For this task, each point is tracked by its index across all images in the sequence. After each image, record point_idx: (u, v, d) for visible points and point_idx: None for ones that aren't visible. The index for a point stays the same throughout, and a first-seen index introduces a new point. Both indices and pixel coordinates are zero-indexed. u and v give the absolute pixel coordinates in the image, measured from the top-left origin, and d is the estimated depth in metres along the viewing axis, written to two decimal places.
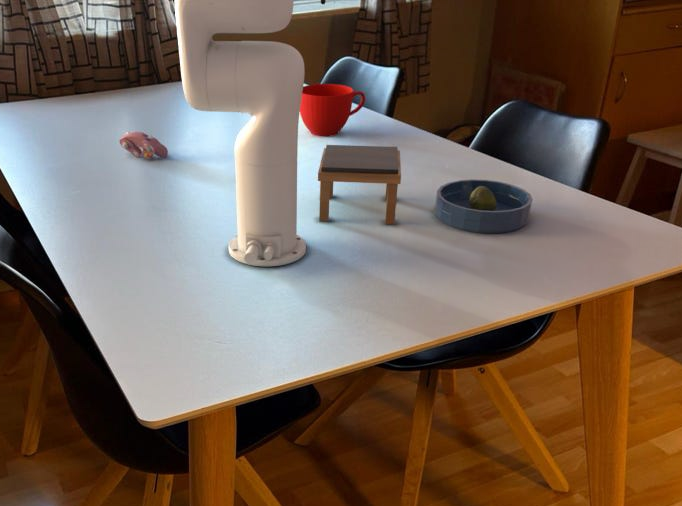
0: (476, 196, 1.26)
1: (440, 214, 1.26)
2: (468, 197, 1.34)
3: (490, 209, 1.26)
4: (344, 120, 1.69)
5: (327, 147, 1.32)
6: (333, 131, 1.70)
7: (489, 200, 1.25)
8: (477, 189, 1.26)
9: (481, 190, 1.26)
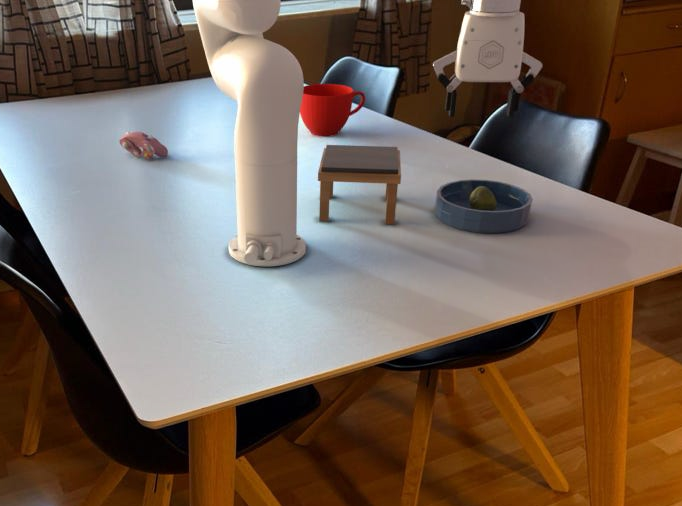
0: (476, 196, 1.26)
1: (440, 214, 1.26)
2: (468, 197, 1.34)
3: (490, 209, 1.26)
4: (344, 120, 1.69)
5: (327, 147, 1.32)
6: (333, 131, 1.70)
7: (489, 200, 1.25)
8: (477, 189, 1.26)
9: (481, 190, 1.26)
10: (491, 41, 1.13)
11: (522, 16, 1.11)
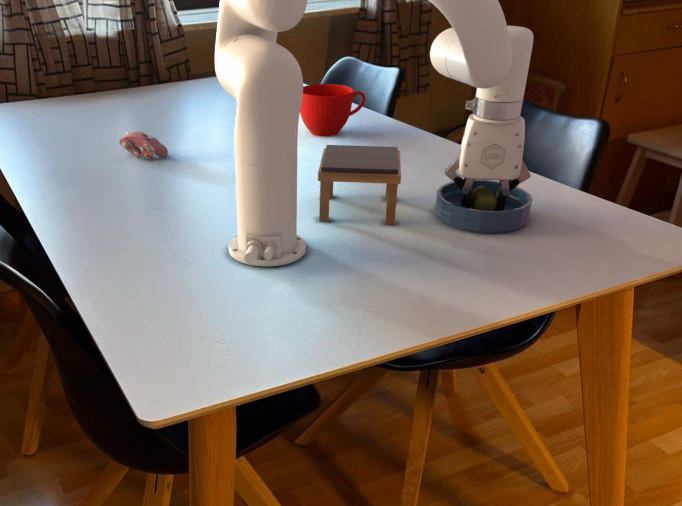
0: (476, 196, 1.26)
1: (440, 214, 1.26)
2: None
3: (490, 209, 1.26)
4: (344, 120, 1.69)
5: (327, 147, 1.32)
6: (333, 131, 1.70)
7: (490, 200, 1.25)
8: (477, 189, 1.26)
9: (481, 190, 1.26)
10: (493, 144, 1.19)
11: (523, 122, 1.18)
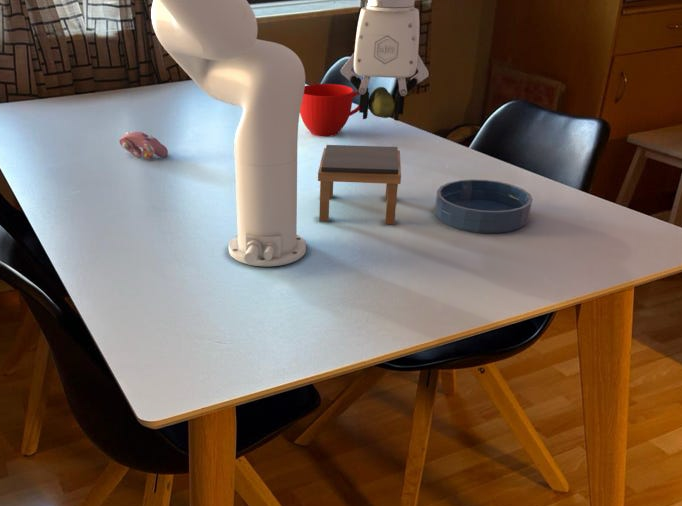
0: (374, 96, 1.20)
1: (440, 214, 1.26)
2: (468, 197, 1.34)
3: (388, 111, 1.20)
4: (344, 120, 1.69)
5: (327, 147, 1.32)
6: (333, 131, 1.70)
7: (387, 101, 1.19)
8: (375, 90, 1.20)
9: (379, 90, 1.19)
10: (386, 36, 1.13)
11: (415, 12, 1.11)
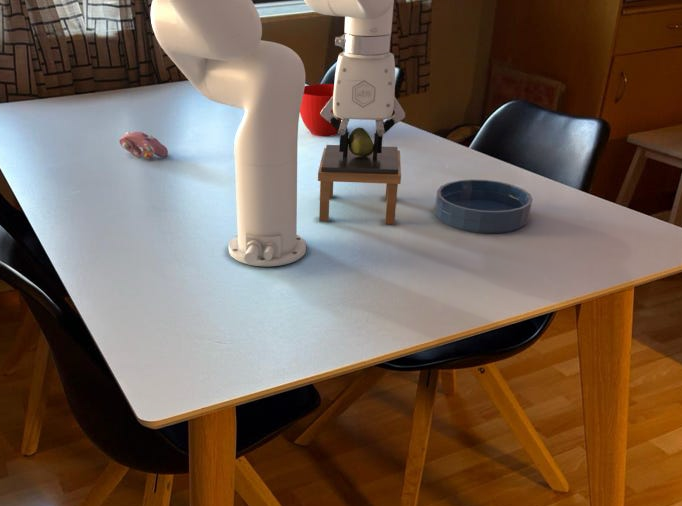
0: (353, 137, 1.24)
1: (440, 214, 1.26)
2: (468, 197, 1.34)
3: (367, 151, 1.25)
4: None
5: (327, 147, 1.32)
6: (333, 131, 1.70)
7: (365, 141, 1.23)
8: (354, 130, 1.24)
9: (357, 131, 1.24)
10: (363, 81, 1.18)
11: (391, 58, 1.16)
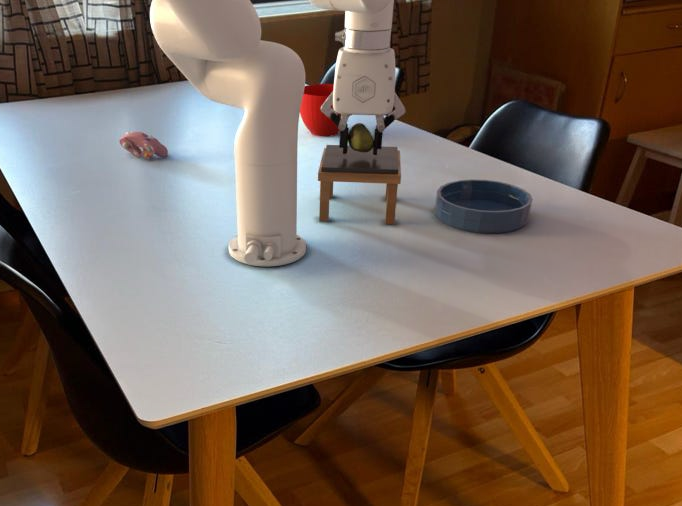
0: (353, 133, 1.24)
1: (440, 214, 1.26)
2: (468, 197, 1.34)
3: (367, 146, 1.24)
4: None
5: (327, 147, 1.32)
6: (333, 131, 1.70)
7: (365, 137, 1.23)
8: (354, 126, 1.24)
9: (357, 127, 1.23)
10: (363, 76, 1.17)
11: (391, 53, 1.15)
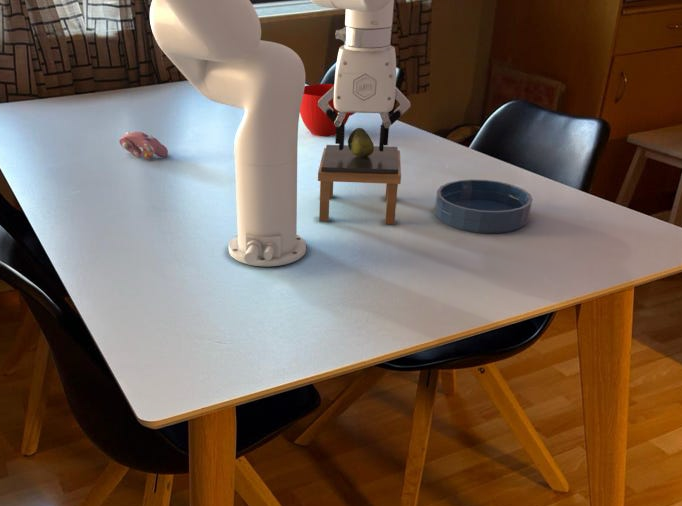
0: (352, 137, 1.24)
1: (440, 214, 1.26)
2: (468, 197, 1.34)
3: (367, 151, 1.25)
4: (344, 120, 1.69)
5: (327, 147, 1.32)
6: (333, 131, 1.70)
7: (365, 142, 1.23)
8: (354, 131, 1.25)
9: (357, 131, 1.24)
10: (364, 74, 1.17)
11: (392, 51, 1.15)
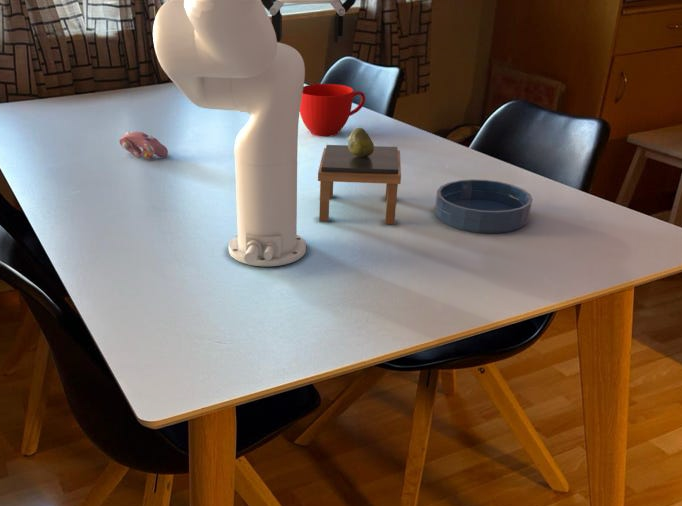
0: (352, 137, 1.24)
1: (440, 214, 1.26)
2: (468, 197, 1.34)
3: (367, 151, 1.25)
4: (344, 120, 1.69)
5: (327, 147, 1.32)
6: (333, 131, 1.70)
7: (365, 142, 1.23)
8: (354, 131, 1.25)
9: (357, 131, 1.24)
10: None
11: None
